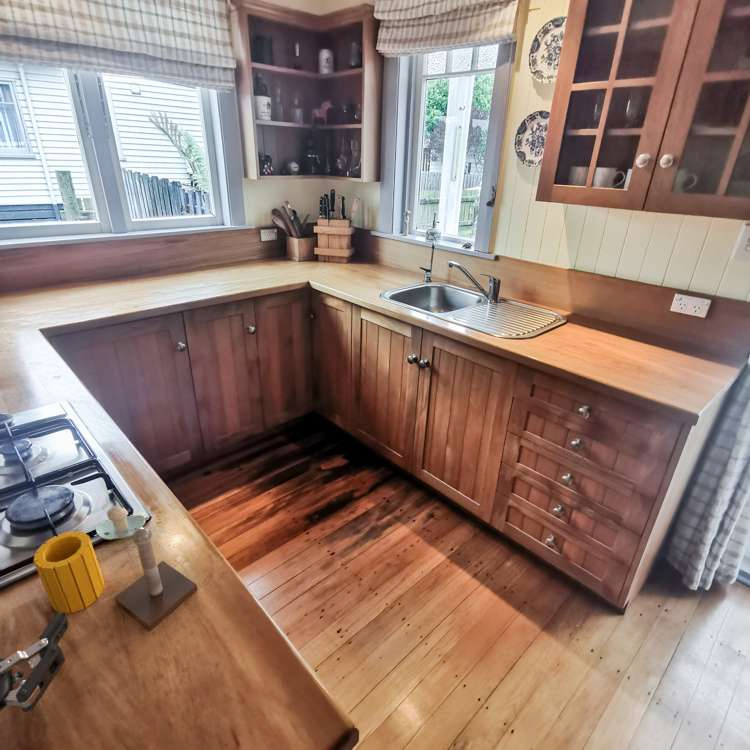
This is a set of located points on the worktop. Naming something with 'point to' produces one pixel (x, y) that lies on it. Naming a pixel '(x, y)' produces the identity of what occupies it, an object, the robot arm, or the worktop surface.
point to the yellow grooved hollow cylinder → (69, 571)
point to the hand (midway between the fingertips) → (29, 614)
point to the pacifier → (119, 524)
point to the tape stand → (154, 586)
